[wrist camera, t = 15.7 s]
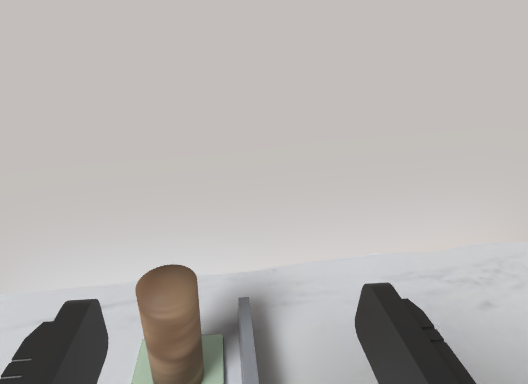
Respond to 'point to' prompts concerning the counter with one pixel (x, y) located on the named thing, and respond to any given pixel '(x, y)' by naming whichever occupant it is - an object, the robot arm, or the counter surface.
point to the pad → (211, 359)
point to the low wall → (246, 343)
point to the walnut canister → (171, 324)
